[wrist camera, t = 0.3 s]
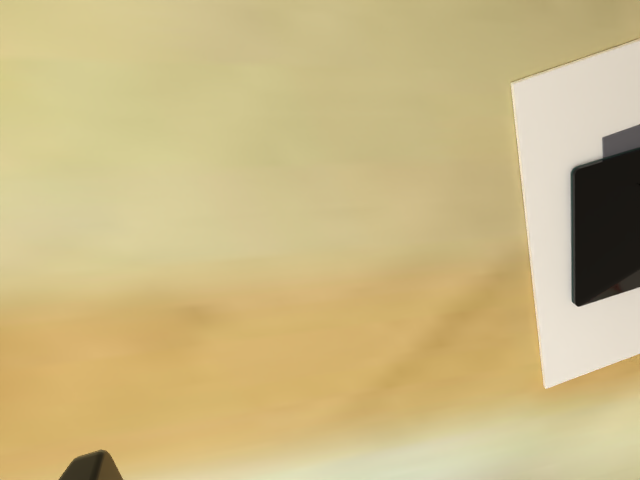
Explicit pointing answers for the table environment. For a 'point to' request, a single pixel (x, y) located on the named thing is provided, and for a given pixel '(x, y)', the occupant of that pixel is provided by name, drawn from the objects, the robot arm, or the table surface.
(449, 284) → the table surface
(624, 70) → the letter tile
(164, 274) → the table surface
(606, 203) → the black stand
